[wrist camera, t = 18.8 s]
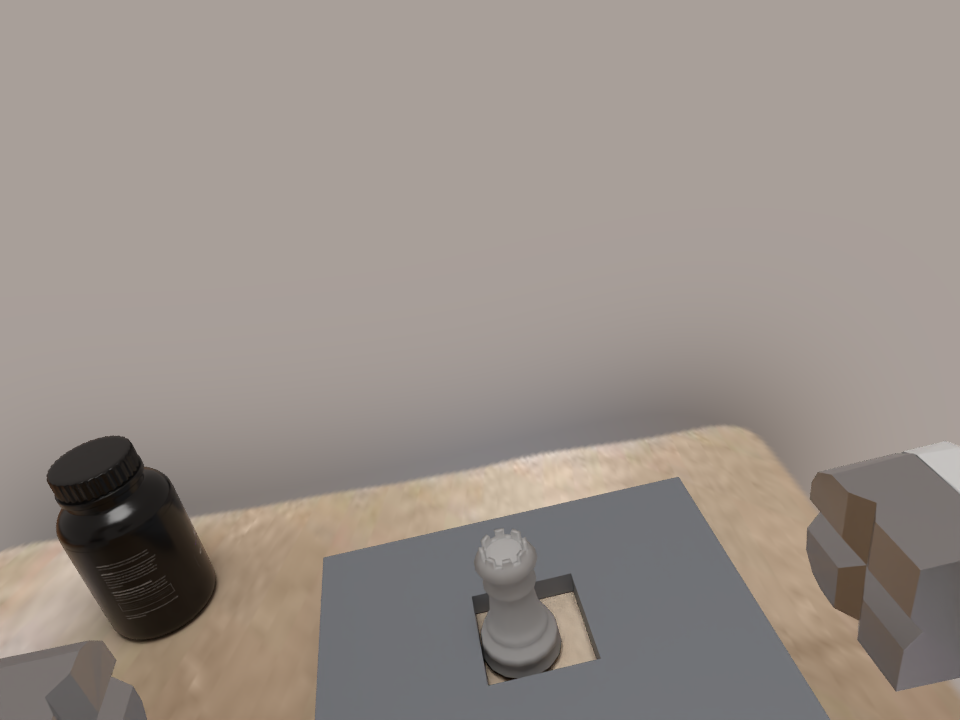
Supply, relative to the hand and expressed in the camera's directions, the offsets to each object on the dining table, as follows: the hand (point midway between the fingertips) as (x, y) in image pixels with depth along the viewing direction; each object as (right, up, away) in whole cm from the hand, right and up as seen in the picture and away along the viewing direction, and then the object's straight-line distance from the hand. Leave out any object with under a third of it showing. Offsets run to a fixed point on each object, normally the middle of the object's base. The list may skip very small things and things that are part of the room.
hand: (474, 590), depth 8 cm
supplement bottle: (-21, -14, +40) cm, 47 cm away
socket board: (+3, -13, +32) cm, 35 cm away
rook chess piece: (+2, -14, +32) cm, 35 cm away
